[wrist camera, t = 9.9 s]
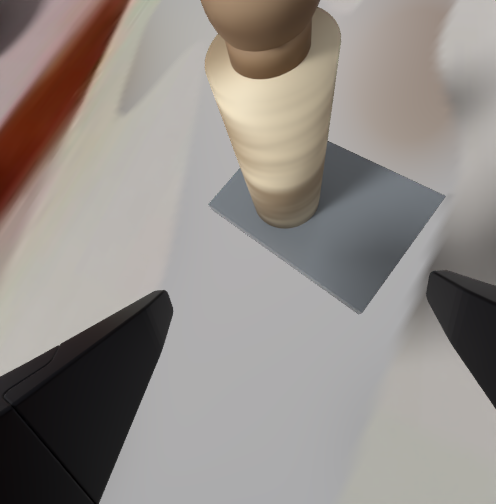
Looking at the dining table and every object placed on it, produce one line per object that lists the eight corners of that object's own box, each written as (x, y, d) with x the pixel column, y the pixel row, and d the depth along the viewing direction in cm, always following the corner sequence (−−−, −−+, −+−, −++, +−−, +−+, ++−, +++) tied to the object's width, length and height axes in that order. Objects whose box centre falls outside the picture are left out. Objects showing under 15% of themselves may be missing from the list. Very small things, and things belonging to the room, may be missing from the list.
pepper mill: (331, 211, 18) (426, -175, 4) (268, 239, 19) (172, -42, 5) (302, 161, 20) (304, -226, 6) (245, 187, 20) (126, -127, 7)
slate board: (438, 203, 18) (445, 196, 17) (358, 314, 17) (361, 313, 16) (282, 128, 23) (281, 119, 22) (212, 210, 22) (208, 204, 21)
